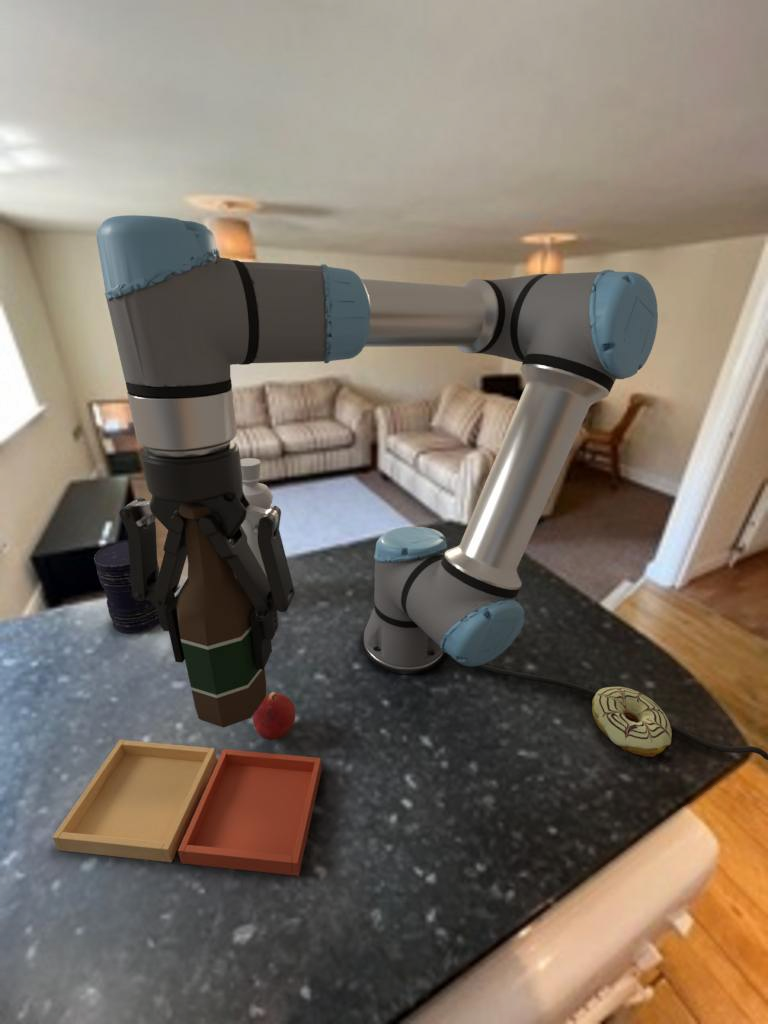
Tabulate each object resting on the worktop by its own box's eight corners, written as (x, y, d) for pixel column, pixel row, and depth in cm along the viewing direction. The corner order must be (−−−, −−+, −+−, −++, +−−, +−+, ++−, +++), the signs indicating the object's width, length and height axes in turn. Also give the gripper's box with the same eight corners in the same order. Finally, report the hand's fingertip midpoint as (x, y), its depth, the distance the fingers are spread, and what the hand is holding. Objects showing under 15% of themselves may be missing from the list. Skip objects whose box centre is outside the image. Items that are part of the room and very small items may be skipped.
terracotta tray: (321, 770, 61) (321, 757, 59) (298, 876, 49) (297, 863, 48) (225, 761, 61) (223, 748, 60) (181, 863, 50) (177, 850, 49)
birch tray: (217, 760, 61) (215, 748, 60) (171, 862, 50) (167, 849, 49) (123, 751, 62) (119, 739, 61) (58, 850, 51) (51, 837, 50)
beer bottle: (205, 673, 52) (168, 482, 42) (273, 671, 53) (252, 481, 42) (183, 731, 45) (132, 518, 35) (261, 728, 46) (234, 517, 35)
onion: (287, 756, 62) (283, 715, 59) (248, 747, 63) (242, 707, 60) (302, 721, 67) (299, 682, 64) (266, 714, 68) (262, 675, 65)
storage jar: (100, 626, 85) (75, 544, 78) (141, 597, 94) (122, 521, 86) (140, 640, 82) (118, 555, 75) (179, 609, 91) (163, 530, 83)
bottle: (231, 604, 93) (212, 467, 80) (252, 580, 101) (237, 452, 88) (272, 611, 91) (259, 472, 78) (290, 586, 99) (281, 457, 86)
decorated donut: (612, 762, 63) (618, 744, 61) (577, 700, 72) (582, 683, 71) (682, 758, 64) (691, 740, 62) (638, 698, 73) (644, 681, 72)
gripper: (323, 436, 39) (329, 639, 49) (100, 425, 41) (149, 624, 50) (302, 464, 33) (314, 693, 42) (35, 449, 34) (106, 675, 44)
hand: (224, 656), depth 46 cm, fingers closed on beer bottle, 8 cm apart
